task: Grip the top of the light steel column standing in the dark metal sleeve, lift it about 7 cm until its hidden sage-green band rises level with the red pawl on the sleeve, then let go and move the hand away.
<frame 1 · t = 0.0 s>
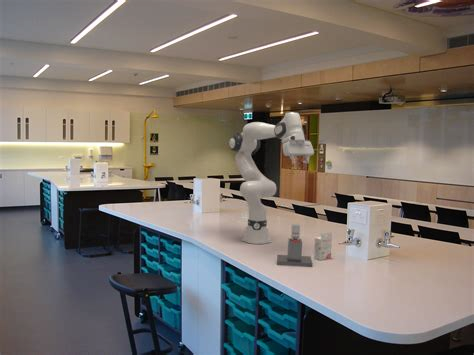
hand: (301, 163, 235), 52 cm above the counter, tool tilted 20°, fingers open, 8 cm apart
ink cartridge box: (322, 258, 236), on the counter
stand base: (294, 262, 226), on the counter
column: (295, 242, 225), point 11 cm above the counter, slide at 0.0 cm
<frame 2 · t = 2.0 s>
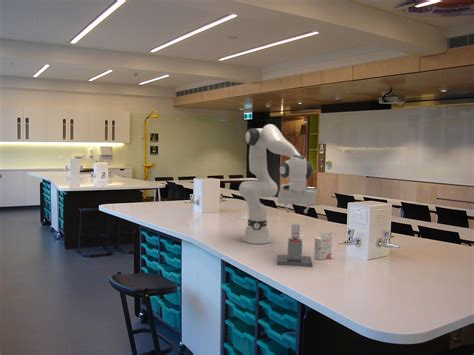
hand: (296, 212, 223), 27 cm above the counter, tool pointing down, fingers open, 8 cm apart
column: (295, 242, 225), point 11 cm above the counter, slide at 0.0 cm, touching stand base
everything else where it was.
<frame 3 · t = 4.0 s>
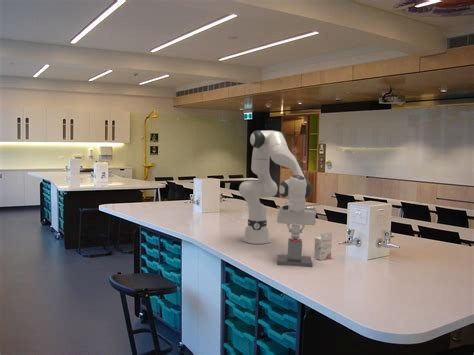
hand: (295, 232, 224), 16 cm above the counter, tool pointing down, fingers closed on column, 4 cm apart
column: (295, 242, 225), point 11 cm above the counter, slide at 0.0 cm, touching gripper, stand base
everything else where it was.
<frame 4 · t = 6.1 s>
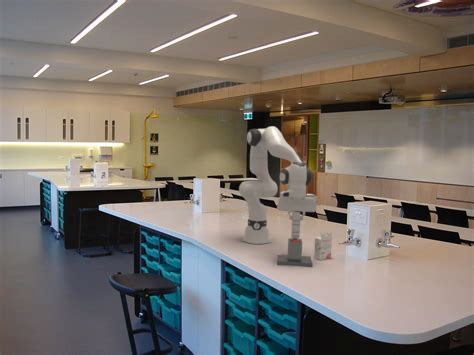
hand: (296, 219, 224), 23 cm above the counter, tool pointing down, fingers closed on column, 4 cm apart
column: (295, 229, 224), point 18 cm above the counter, slide at 6.7 cm, touching gripper
everything else where it was.
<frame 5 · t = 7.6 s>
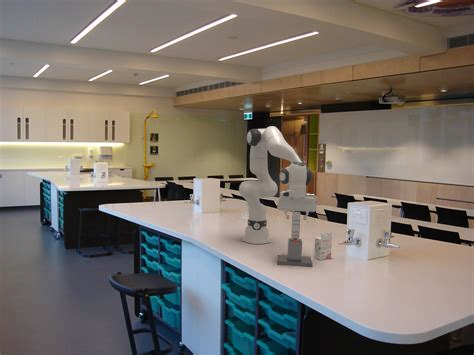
hand: (296, 219, 224), 23 cm above the counter, tool pointing down, fingers open, 8 cm apart
column: (295, 229, 224), point 18 cm above the counter, slide at 6.8 cm
everything else where it was.
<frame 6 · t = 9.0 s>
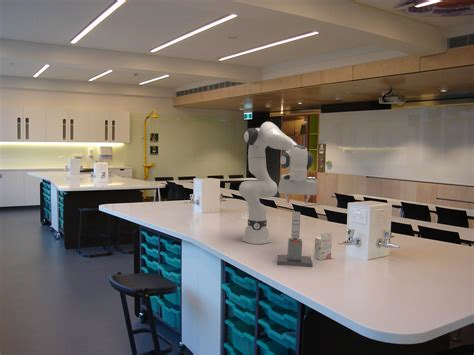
hand: (296, 202, 223), 32 cm above the counter, tool pointing down, fingers open, 8 cm apart
nothing on the counter moved.
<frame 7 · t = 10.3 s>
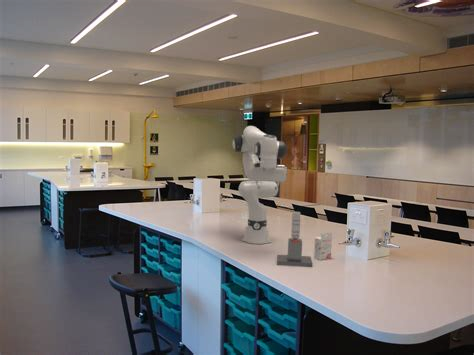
hand: (267, 189, 235), 37 cm above the counter, tool pointing down, fingers open, 8 cm apart
nothing on the counter moved.
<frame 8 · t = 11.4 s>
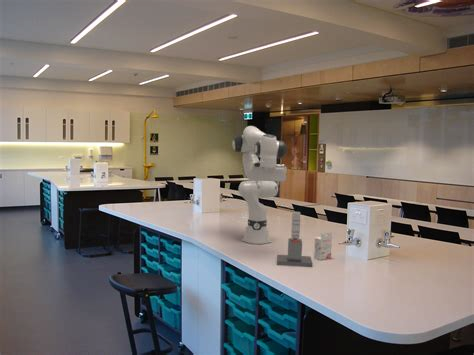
hand: (267, 189, 235), 37 cm above the counter, tool pointing down, fingers open, 8 cm apart
nothing on the counter moved.
at the end: column slide at 6.8 cm; the gripper is holding nothing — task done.
